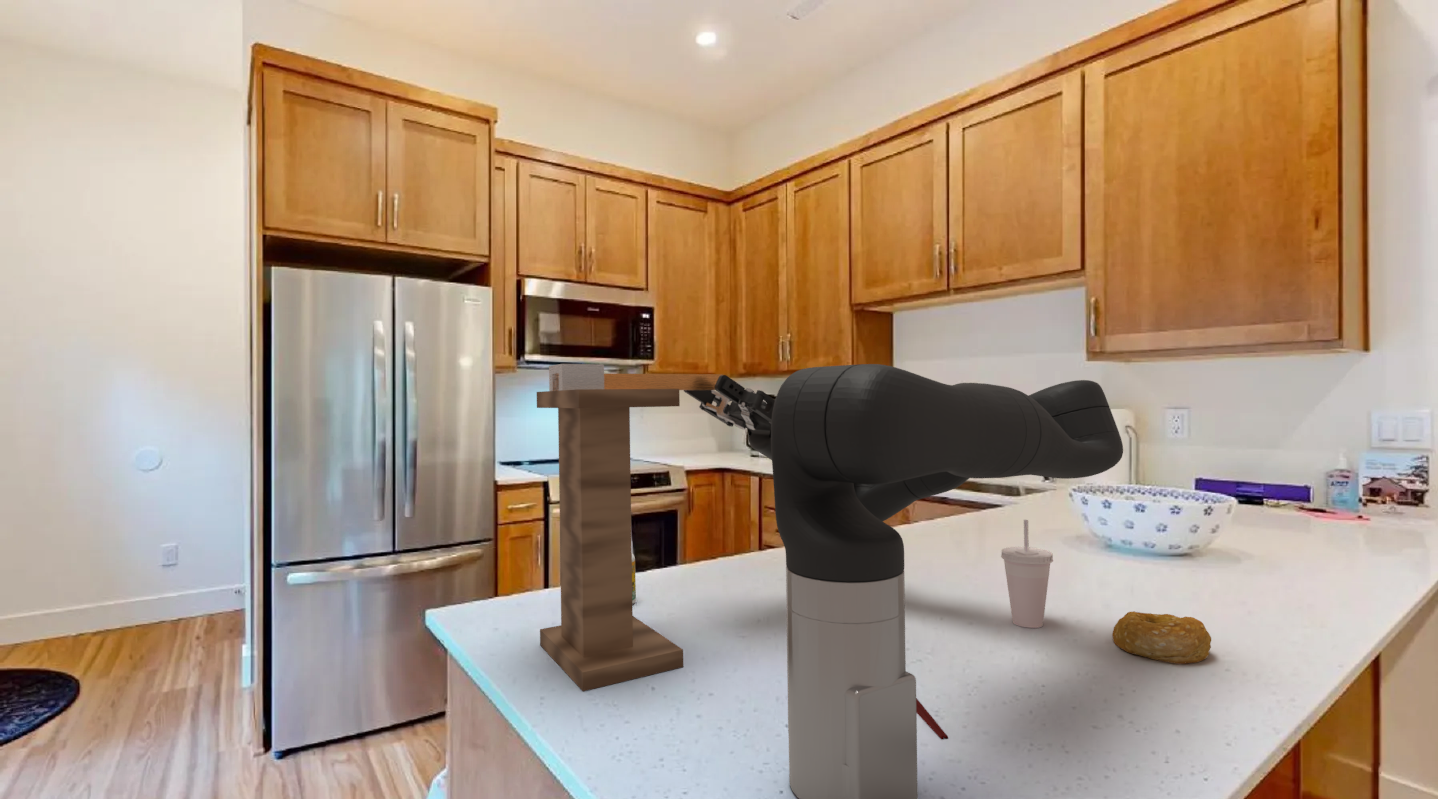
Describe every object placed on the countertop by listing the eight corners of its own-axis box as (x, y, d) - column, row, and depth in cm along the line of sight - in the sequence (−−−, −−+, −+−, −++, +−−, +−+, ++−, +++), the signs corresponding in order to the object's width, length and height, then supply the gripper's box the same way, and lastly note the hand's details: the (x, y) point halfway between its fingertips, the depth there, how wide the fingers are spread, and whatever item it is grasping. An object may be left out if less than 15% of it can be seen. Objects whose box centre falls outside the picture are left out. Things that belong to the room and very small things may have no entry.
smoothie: (999, 627, 89) (998, 521, 89) (1004, 613, 95) (1002, 514, 95) (1053, 634, 86) (1052, 525, 86) (1054, 619, 92) (1053, 517, 92)
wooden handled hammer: (728, 389, 87) (728, 366, 87) (562, 390, 76) (562, 363, 76) (709, 390, 92) (708, 368, 92) (549, 391, 80) (549, 366, 80)
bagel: (1205, 642, 83) (1204, 603, 83) (1217, 675, 74) (1216, 631, 74) (1112, 630, 88) (1111, 594, 88) (1112, 660, 79) (1111, 619, 79)
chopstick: (937, 744, 60) (937, 733, 60) (853, 647, 84) (853, 639, 84) (958, 743, 61) (958, 732, 61) (868, 646, 84) (868, 639, 84)
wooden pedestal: (683, 666, 78) (679, 388, 78) (582, 691, 71) (578, 389, 71) (628, 627, 91) (624, 391, 91) (540, 645, 85) (536, 391, 85)
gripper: (770, 415, 102) (688, 360, 95) (832, 417, 90) (743, 354, 83) (750, 459, 101) (665, 407, 93) (810, 467, 88) (717, 407, 81)
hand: (701, 382), depth 88 cm, fingers open, 8 cm apart
